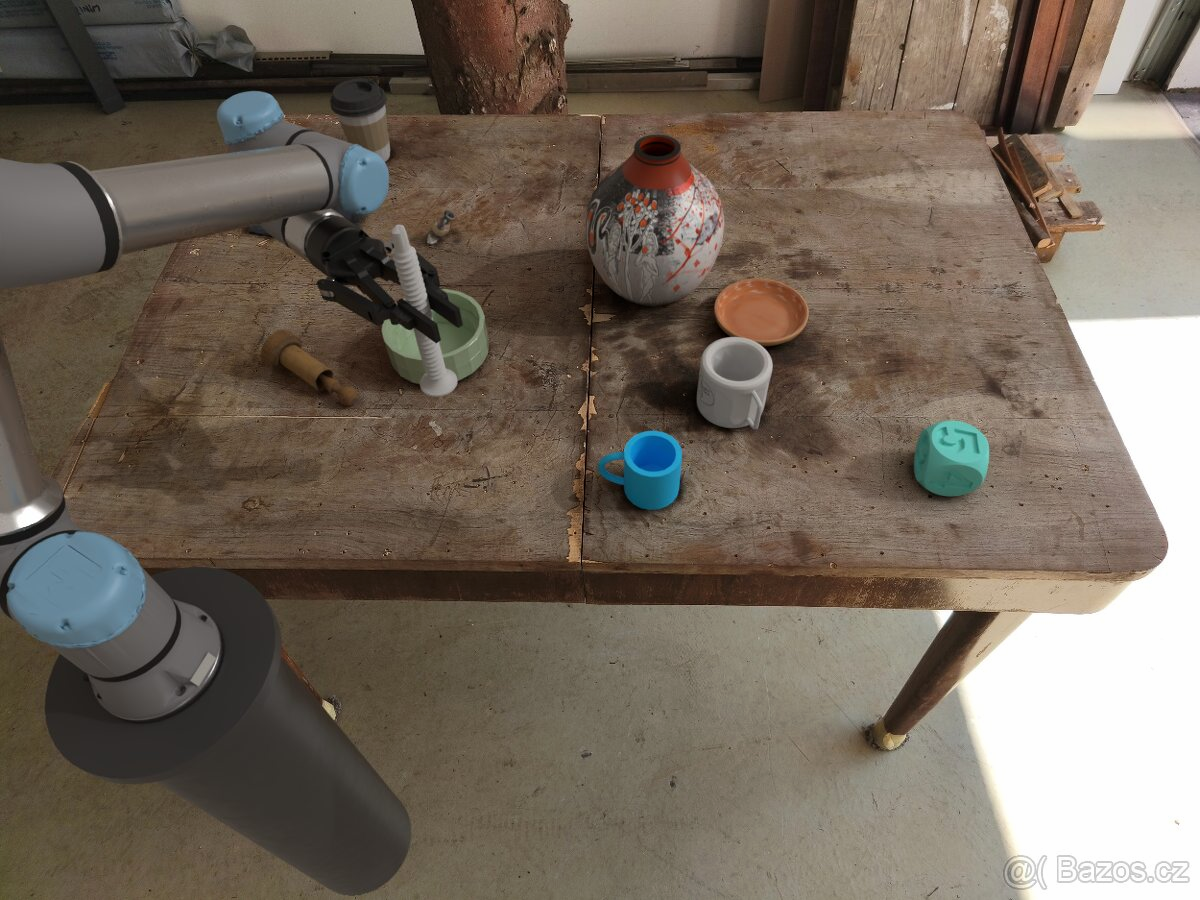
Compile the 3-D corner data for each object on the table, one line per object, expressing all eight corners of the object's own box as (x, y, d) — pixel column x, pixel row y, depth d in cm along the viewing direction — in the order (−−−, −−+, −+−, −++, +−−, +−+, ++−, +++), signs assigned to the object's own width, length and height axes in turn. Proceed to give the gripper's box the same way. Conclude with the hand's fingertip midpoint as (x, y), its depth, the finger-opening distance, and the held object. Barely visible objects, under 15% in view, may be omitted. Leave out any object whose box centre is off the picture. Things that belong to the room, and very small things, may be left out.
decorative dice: (972, 500, 117) (992, 467, 110) (915, 493, 118) (932, 460, 111) (966, 456, 122) (985, 422, 115) (911, 450, 122) (927, 416, 116)
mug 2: (684, 390, 131) (688, 346, 123) (743, 371, 133) (751, 327, 125) (723, 451, 123) (730, 409, 115) (785, 430, 125) (796, 387, 117)
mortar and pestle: (270, 370, 136) (347, 425, 131) (253, 349, 130) (333, 406, 125) (298, 343, 138) (374, 395, 133) (283, 321, 132) (362, 375, 127)
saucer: (699, 337, 138) (700, 324, 136) (731, 280, 147) (733, 268, 145) (789, 365, 134) (792, 352, 131) (817, 305, 142) (820, 292, 140)
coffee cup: (410, 155, 174) (395, 88, 162) (368, 178, 169) (348, 111, 157) (378, 136, 179) (361, 69, 167) (336, 158, 174) (315, 91, 162)
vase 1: (462, 231, 158) (457, 205, 153) (454, 248, 154) (449, 222, 150) (435, 228, 158) (430, 202, 153) (427, 246, 155) (421, 220, 150)
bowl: (385, 391, 132) (375, 361, 127) (398, 321, 142) (389, 290, 137) (486, 387, 132) (480, 357, 127) (492, 317, 142) (486, 287, 137)
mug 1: (680, 466, 122) (683, 432, 115) (677, 512, 117) (680, 479, 110) (601, 460, 123) (600, 426, 116) (595, 505, 118) (593, 472, 111)
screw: (410, 205, 90) (426, 230, 87) (449, 364, 110) (463, 388, 108) (367, 219, 89) (382, 245, 86) (414, 377, 109) (428, 402, 106)
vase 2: (571, 318, 142) (562, 178, 120) (606, 237, 155) (604, 98, 133) (702, 342, 138) (718, 201, 115) (727, 256, 151) (745, 116, 129)
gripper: (384, 236, 111) (500, 314, 101) (287, 295, 104) (402, 384, 94) (371, 189, 105) (493, 267, 95) (267, 248, 98) (387, 338, 88)
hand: (447, 325), depth 95 cm, fingers closed on screw, 3 cm apart
